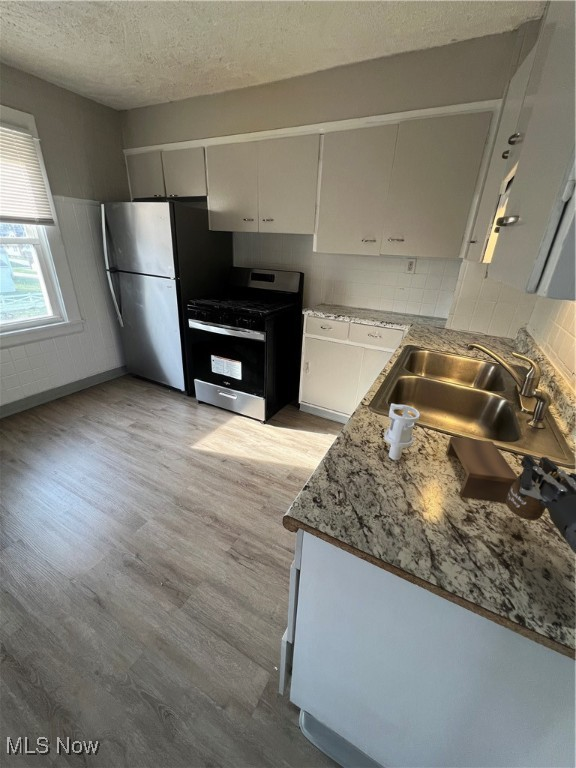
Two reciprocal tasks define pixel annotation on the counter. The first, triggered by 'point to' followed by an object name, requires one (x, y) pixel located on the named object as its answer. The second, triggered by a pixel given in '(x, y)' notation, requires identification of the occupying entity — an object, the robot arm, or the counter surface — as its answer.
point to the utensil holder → (525, 502)
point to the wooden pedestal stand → (482, 469)
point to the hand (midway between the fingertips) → (533, 459)
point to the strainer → (400, 430)
